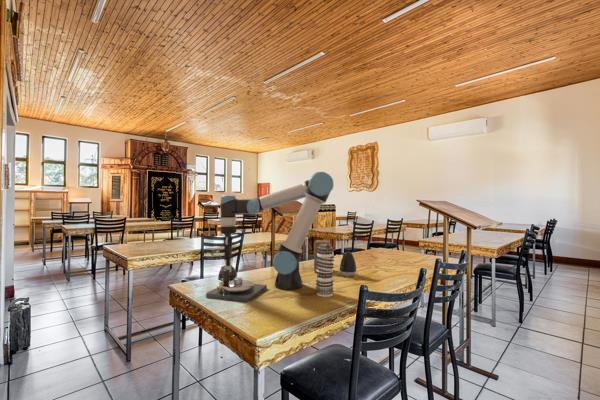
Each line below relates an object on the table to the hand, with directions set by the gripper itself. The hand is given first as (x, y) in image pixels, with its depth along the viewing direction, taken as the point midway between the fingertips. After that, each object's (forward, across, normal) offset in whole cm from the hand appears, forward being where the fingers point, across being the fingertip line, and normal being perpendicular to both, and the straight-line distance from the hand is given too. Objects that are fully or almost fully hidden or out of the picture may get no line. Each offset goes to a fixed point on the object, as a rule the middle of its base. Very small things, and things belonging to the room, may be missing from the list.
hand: (228, 271), depth 151 cm
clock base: (+10, +2, +5) cm, 12 cm away
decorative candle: (+11, +8, +48) cm, 50 cm away
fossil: (+10, -25, -4) cm, 28 cm away
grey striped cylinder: (+11, -40, +56) cm, 70 cm away
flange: (+7, +3, +4) cm, 9 cm away
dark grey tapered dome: (+11, -27, +69) cm, 75 cm away
